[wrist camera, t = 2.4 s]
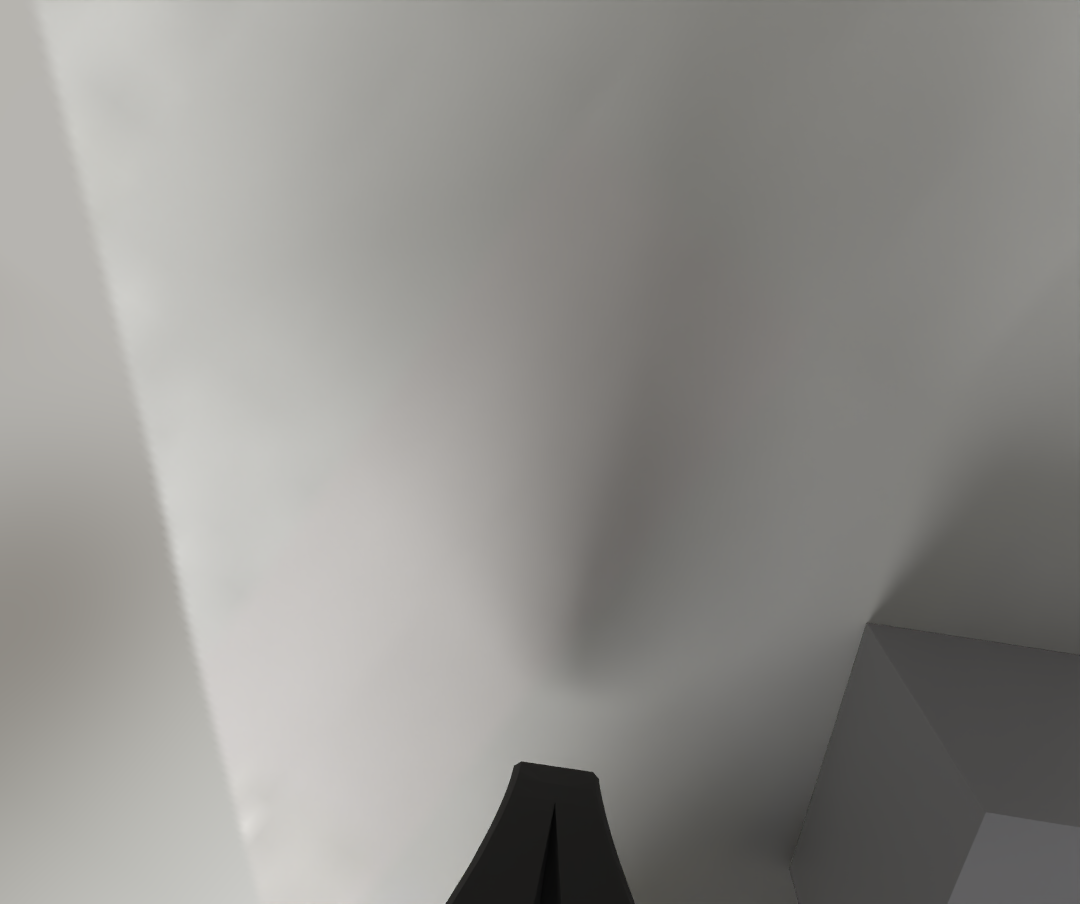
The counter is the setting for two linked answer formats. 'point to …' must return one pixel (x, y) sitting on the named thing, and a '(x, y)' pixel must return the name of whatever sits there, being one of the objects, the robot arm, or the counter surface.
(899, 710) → the chute block
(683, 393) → the counter surface
